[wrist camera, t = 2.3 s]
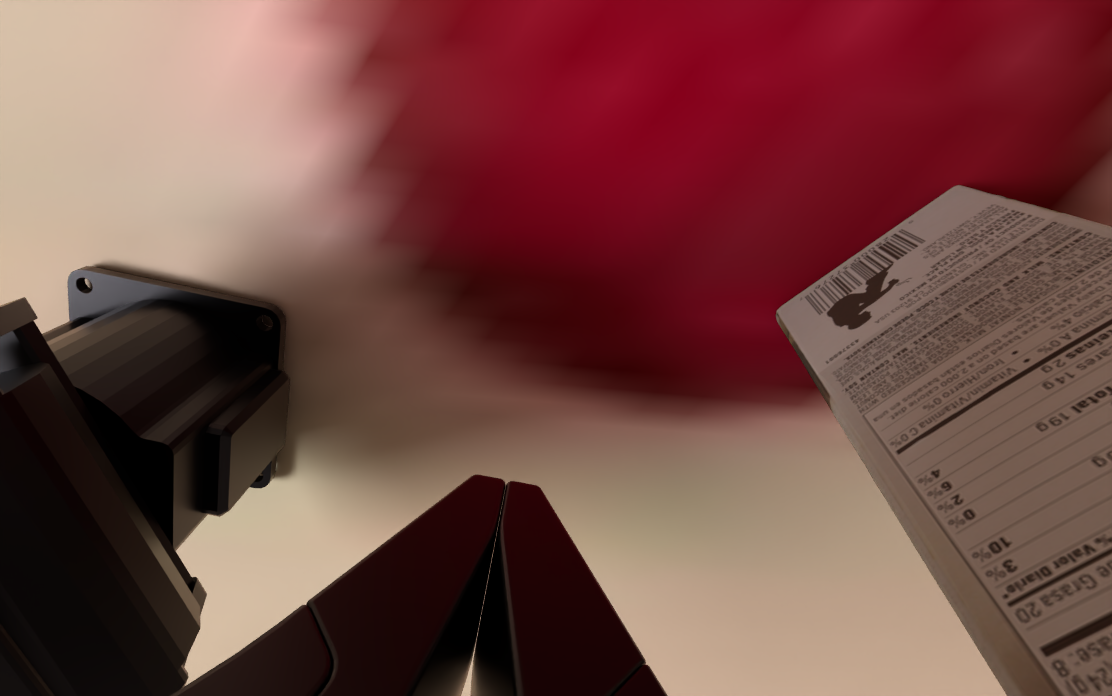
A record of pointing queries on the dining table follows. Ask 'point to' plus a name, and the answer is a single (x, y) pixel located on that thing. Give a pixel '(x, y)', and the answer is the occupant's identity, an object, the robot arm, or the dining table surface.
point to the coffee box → (986, 418)
